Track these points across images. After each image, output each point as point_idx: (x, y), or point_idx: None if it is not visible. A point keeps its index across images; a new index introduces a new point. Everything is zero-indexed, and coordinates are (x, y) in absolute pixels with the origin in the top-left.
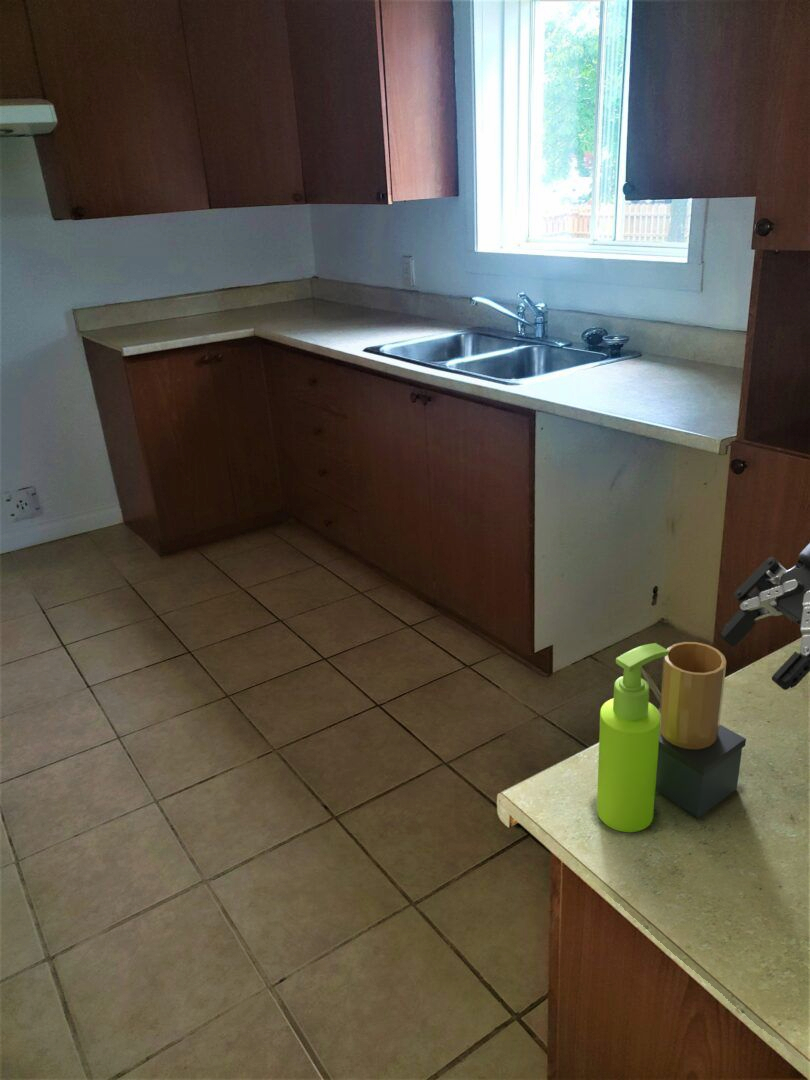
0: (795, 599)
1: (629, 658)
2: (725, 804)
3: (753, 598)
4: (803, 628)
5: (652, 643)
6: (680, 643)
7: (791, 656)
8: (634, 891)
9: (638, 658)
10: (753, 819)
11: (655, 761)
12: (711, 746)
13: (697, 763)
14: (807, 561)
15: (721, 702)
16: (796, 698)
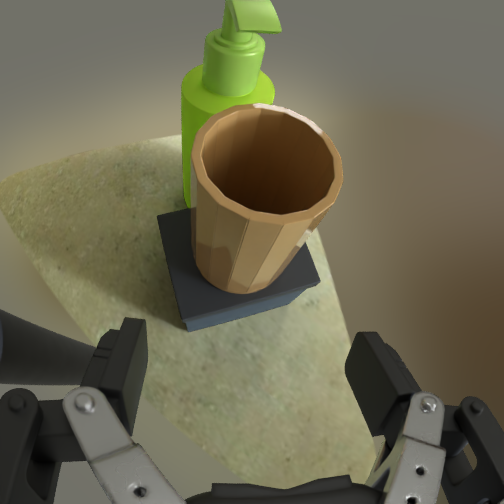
0: None
1: None
2: (172, 300)
3: (438, 433)
4: (129, 453)
5: (279, 22)
6: (339, 168)
7: (125, 374)
8: (128, 151)
9: None
10: (137, 313)
11: (186, 148)
12: (191, 256)
13: (170, 214)
14: None
15: (207, 250)
16: None
